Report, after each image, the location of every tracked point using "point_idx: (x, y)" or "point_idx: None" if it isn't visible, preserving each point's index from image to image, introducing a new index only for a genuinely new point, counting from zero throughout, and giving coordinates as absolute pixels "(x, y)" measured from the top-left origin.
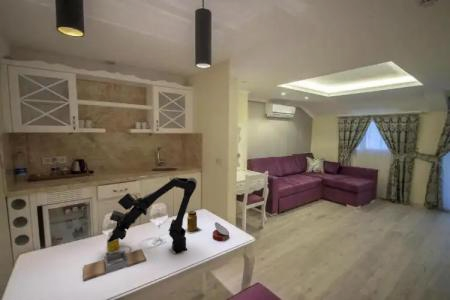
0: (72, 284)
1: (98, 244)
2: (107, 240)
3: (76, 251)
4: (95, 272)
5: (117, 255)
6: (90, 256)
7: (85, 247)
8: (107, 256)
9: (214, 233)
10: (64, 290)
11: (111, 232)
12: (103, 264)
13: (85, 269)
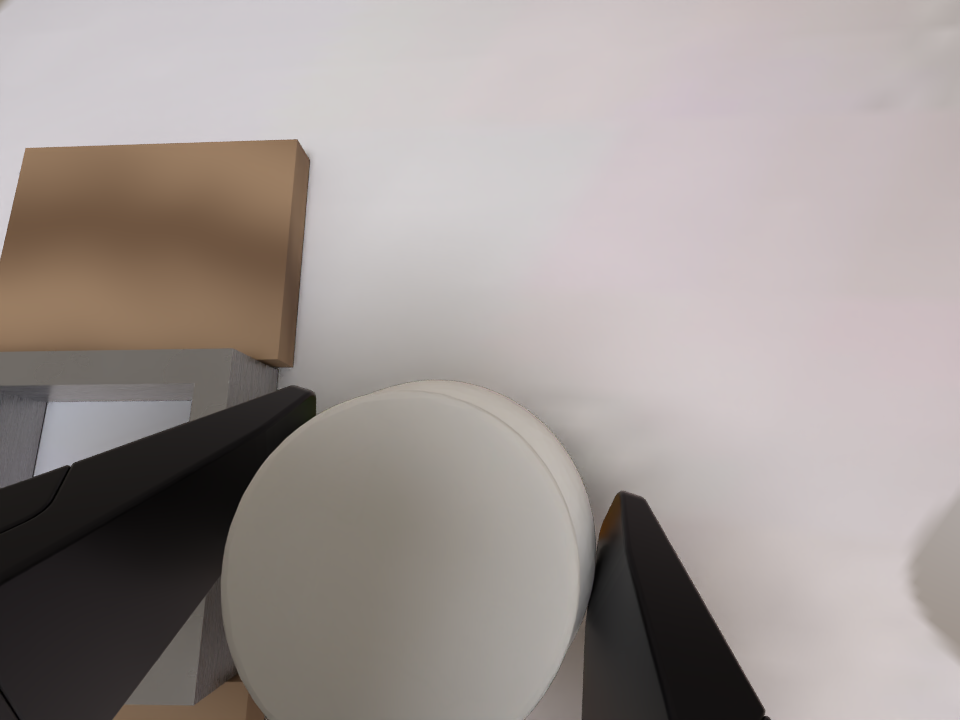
0: (82, 82)
1: (857, 328)
2: (390, 389)
3: (767, 78)
4: (50, 255)
5: None
6: (539, 224)
7: (836, 168)
8: (199, 396)
9: None
10: (41, 33)
11: (442, 517)
12: (158, 348)
13: (192, 158)
